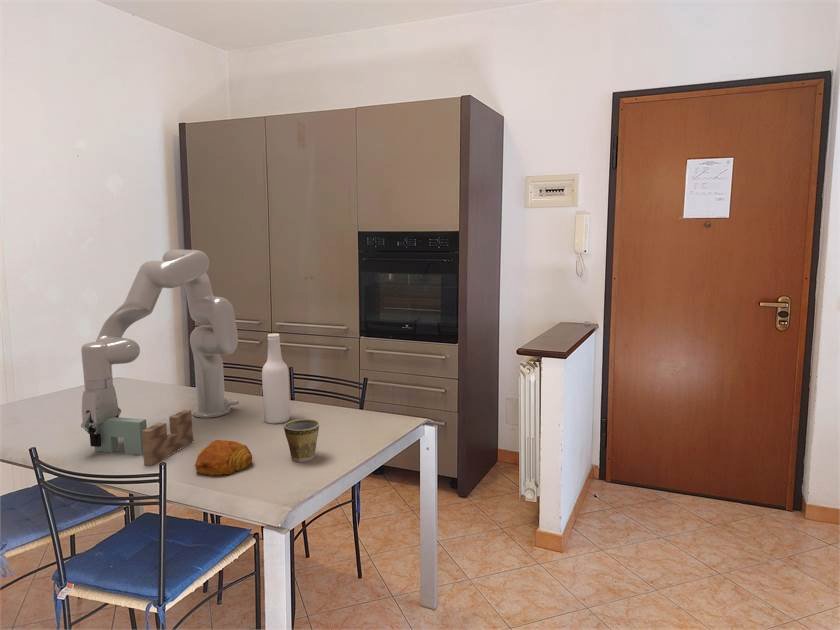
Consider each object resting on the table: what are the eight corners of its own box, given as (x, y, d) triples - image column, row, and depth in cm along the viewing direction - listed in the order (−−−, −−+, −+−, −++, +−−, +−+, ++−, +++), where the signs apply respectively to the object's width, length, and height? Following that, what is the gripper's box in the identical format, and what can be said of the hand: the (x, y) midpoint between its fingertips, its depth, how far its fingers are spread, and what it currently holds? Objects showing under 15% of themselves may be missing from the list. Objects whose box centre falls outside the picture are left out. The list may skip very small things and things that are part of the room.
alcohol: (263, 417, 215) (259, 333, 211) (288, 415, 218) (285, 331, 213) (265, 425, 207) (261, 337, 203) (291, 422, 210) (288, 335, 205)
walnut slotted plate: (186, 440, 193) (184, 409, 191) (193, 441, 192) (191, 410, 191) (144, 465, 174) (141, 430, 172) (152, 465, 173) (149, 431, 172)
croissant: (219, 461, 182) (215, 435, 181) (262, 462, 176) (258, 434, 175) (182, 479, 169) (178, 450, 168) (227, 480, 162) (223, 450, 162)
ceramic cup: (322, 462, 175) (321, 428, 173) (286, 466, 172) (285, 431, 171) (316, 446, 187) (315, 414, 186) (283, 450, 184) (281, 417, 183)
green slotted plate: (95, 451, 185) (92, 419, 183) (102, 447, 188) (99, 415, 186) (141, 455, 181) (139, 422, 180) (148, 451, 184) (146, 419, 182)
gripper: (108, 376, 192) (113, 432, 194) (65, 391, 175) (71, 451, 178) (129, 377, 190) (134, 433, 193) (88, 392, 173) (93, 453, 176)
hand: (103, 441), depth 185 cm, fingers open, 5 cm apart
